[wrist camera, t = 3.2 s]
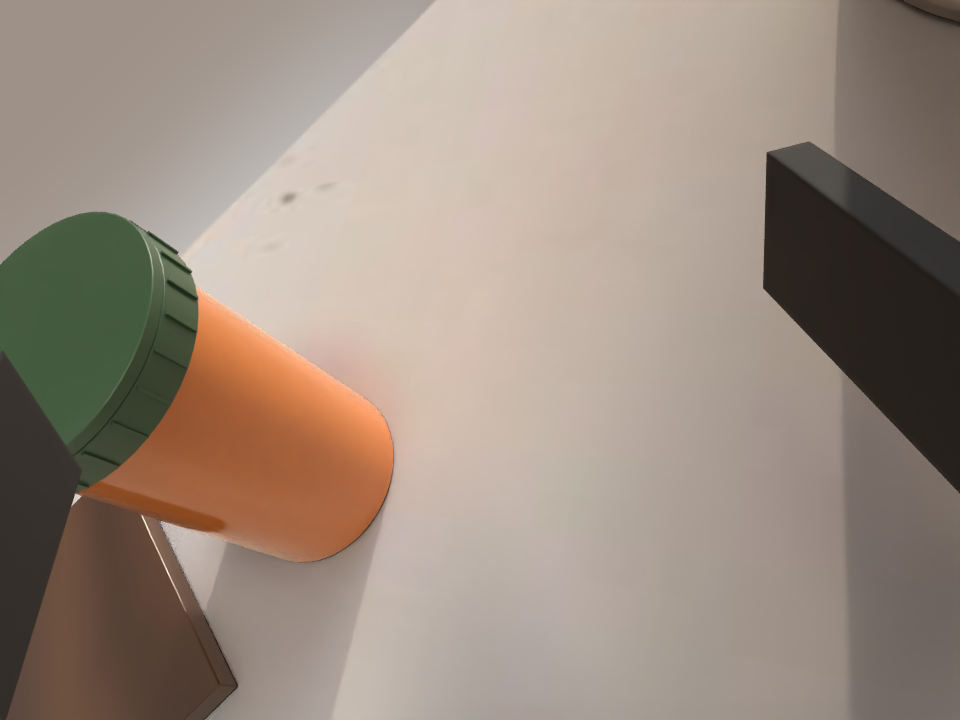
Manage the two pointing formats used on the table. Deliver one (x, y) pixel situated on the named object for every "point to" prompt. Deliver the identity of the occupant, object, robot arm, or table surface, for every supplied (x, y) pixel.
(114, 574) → the board
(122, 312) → the lid
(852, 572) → the table surface
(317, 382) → the jar
